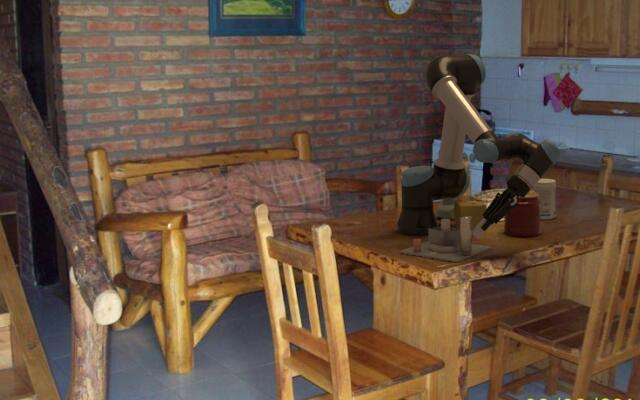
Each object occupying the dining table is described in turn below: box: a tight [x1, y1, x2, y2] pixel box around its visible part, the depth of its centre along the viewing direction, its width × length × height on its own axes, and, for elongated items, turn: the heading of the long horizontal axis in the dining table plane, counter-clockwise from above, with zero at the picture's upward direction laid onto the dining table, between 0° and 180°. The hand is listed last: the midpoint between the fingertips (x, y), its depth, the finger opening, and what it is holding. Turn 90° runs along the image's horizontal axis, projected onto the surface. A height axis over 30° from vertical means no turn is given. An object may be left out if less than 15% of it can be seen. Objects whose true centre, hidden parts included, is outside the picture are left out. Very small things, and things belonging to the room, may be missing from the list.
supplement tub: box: [530, 178, 557, 220], centre depth 342 cm, size 10×10×15 cm
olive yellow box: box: [454, 199, 487, 230], centre depth 326 cm, size 10×11×10 cm
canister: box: [503, 189, 542, 237], centre depth 316 cm, size 13×13×18 cm
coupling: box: [427, 216, 473, 255], centre depth 289 cm, size 16×8×12 cm, turn 32°
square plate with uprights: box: [398, 218, 492, 263], centre depth 293 cm, size 22×22×11 cm
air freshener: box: [435, 197, 459, 221], centre depth 345 cm, size 11×8×10 cm
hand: (474, 236), depth 285 cm, fingers closed
